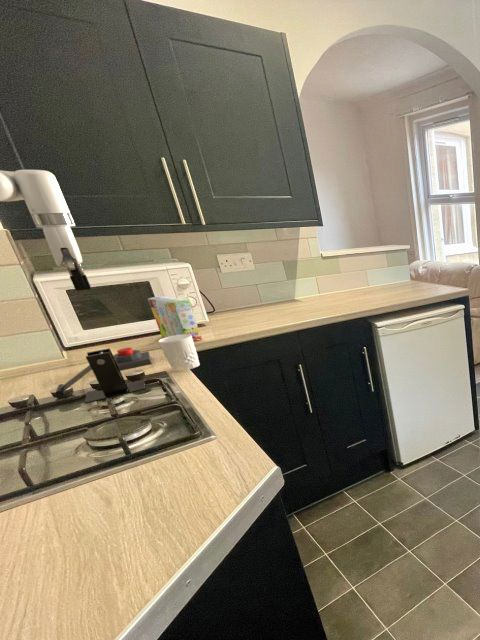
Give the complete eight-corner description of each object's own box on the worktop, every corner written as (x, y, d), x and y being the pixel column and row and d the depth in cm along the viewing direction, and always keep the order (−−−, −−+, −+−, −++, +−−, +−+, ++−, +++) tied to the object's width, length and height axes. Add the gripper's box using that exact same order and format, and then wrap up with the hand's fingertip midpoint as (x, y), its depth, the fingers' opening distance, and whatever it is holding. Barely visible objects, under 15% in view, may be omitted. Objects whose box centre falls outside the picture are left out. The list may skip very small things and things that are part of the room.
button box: (110, 374, 126) (104, 361, 124) (111, 365, 133) (105, 354, 131) (152, 365, 132) (147, 353, 130) (150, 357, 139) (146, 346, 137)
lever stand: (86, 407, 105) (63, 363, 100) (88, 396, 111) (67, 354, 106) (147, 392, 112) (128, 350, 107) (146, 382, 118) (128, 343, 113)
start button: (119, 357, 128) (116, 352, 128) (119, 354, 131) (117, 349, 130) (134, 354, 130) (132, 349, 130) (134, 352, 133) (131, 346, 132)
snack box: (204, 339, 156) (189, 299, 149) (187, 343, 151) (171, 302, 145) (177, 332, 166) (162, 294, 160) (160, 336, 161) (144, 298, 155)
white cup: (187, 375, 122) (174, 342, 118) (164, 374, 123) (151, 342, 119) (209, 365, 129) (197, 334, 125) (187, 364, 131) (175, 333, 126)
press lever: (62, 398, 103) (51, 392, 101) (64, 391, 107) (54, 385, 105) (110, 361, 106) (100, 354, 105) (111, 355, 111) (101, 349, 109)
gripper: (38, 221, 116) (68, 288, 123) (29, 222, 105) (62, 295, 113) (75, 220, 120) (102, 284, 128) (70, 220, 110) (100, 291, 117)
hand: (83, 289), depth 120 cm, fingers closed
